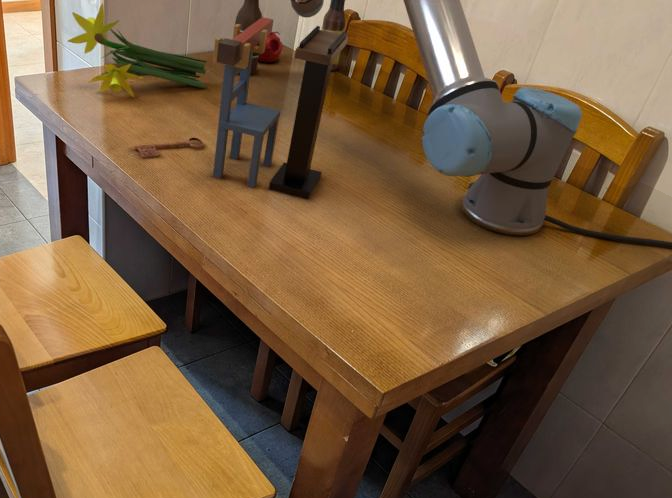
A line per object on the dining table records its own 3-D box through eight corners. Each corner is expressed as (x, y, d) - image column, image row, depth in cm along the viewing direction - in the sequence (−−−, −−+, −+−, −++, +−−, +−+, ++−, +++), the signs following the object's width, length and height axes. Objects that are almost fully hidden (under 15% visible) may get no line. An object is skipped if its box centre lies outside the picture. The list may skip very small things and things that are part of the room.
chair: (222, 151, 136) (237, 23, 119) (271, 164, 134) (293, 35, 117) (201, 174, 127) (214, 39, 111) (254, 188, 125) (275, 52, 108)
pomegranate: (241, 60, 182) (246, 25, 176) (250, 51, 189) (255, 16, 183) (275, 67, 180) (281, 31, 174) (283, 57, 188) (288, 23, 182)
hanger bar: (258, 29, 128) (260, 12, 126) (273, 33, 128) (276, 15, 126) (216, 62, 111) (218, 42, 109) (233, 66, 110) (236, 46, 108)
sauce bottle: (341, 70, 184) (358, -7, 171) (325, 72, 181) (341, -6, 168) (326, 63, 188) (341, -14, 175) (309, 65, 185) (324, -13, 172)
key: (139, 159, 130) (208, 153, 135) (139, 155, 129) (209, 149, 134) (131, 145, 134) (198, 139, 139) (131, 141, 133) (199, 135, 138)
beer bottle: (251, 65, 180) (264, -33, 164) (261, 75, 174) (275, -25, 158) (224, 66, 177) (235, -34, 162) (234, 76, 172) (246, -26, 156)
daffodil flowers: (218, 103, 158) (86, 75, 138) (185, 115, 170) (59, 91, 150) (219, 31, 156) (85, -8, 136) (186, 48, 168) (58, 15, 148)
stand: (285, 165, 134) (311, 23, 116) (322, 174, 132) (355, 31, 114) (265, 193, 124) (290, 42, 106) (305, 204, 122) (338, 52, 104)
